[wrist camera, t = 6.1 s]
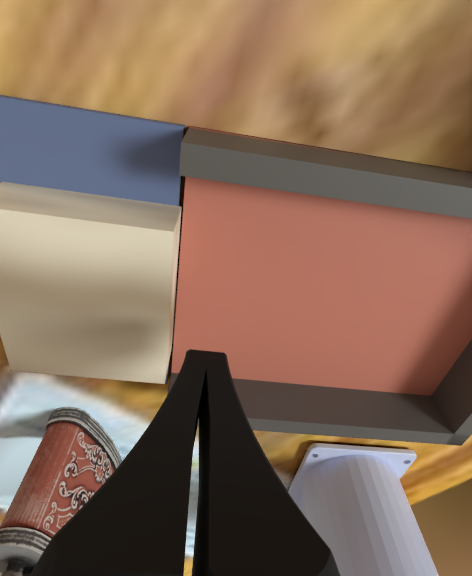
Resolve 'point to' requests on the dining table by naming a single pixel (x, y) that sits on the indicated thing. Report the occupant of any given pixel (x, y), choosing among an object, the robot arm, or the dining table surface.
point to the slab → (87, 283)
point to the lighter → (55, 486)
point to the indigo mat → (89, 152)
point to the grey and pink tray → (329, 286)
